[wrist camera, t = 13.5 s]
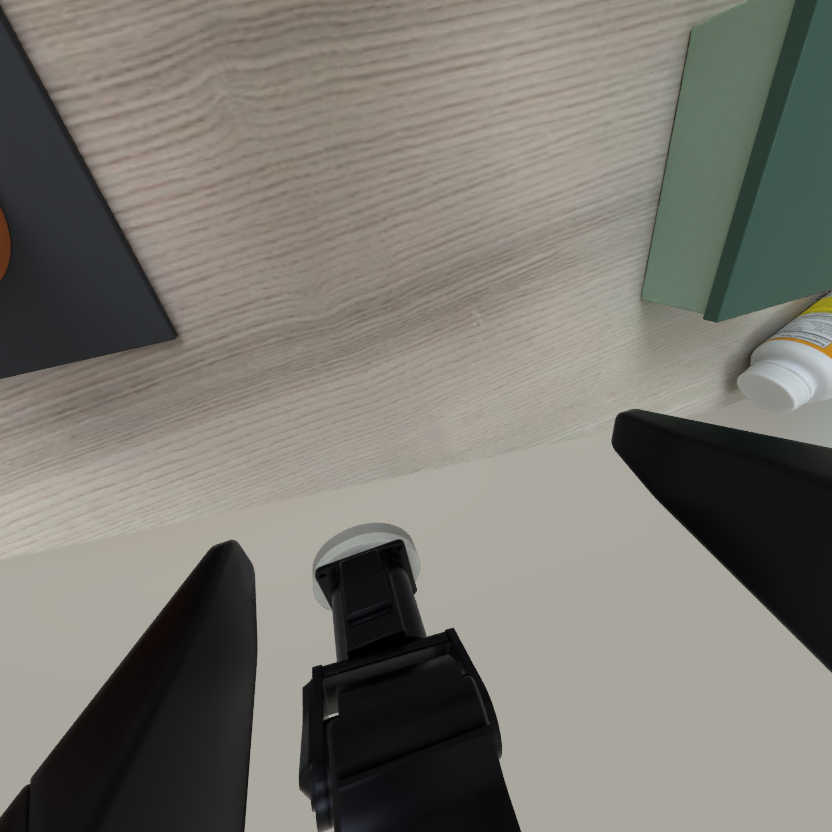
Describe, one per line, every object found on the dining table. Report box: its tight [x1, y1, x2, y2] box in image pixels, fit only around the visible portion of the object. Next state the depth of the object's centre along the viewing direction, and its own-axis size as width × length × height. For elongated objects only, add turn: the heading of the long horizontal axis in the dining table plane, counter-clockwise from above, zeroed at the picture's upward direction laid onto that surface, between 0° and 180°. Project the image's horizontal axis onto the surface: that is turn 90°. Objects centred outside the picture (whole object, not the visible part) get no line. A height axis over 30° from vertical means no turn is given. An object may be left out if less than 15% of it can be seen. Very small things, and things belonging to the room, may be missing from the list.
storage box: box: [641, 0, 832, 323], centre depth 17 cm, size 12×9×5 cm
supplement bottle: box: [737, 291, 832, 413], centre depth 25 cm, size 6×6×10 cm
